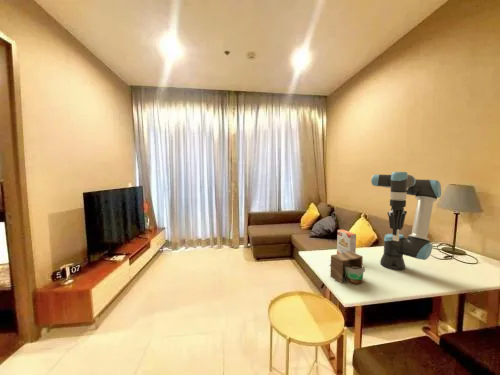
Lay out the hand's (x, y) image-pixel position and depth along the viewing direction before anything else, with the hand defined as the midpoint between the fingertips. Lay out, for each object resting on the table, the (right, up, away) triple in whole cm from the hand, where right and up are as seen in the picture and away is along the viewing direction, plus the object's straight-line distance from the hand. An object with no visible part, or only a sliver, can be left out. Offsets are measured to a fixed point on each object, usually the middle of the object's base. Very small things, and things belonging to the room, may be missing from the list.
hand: (395, 240), depth 126 cm
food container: (-19, -29, +10) cm, 36 cm away
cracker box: (-7, -26, +49) cm, 56 cm away
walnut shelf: (-21, -28, +18) cm, 39 cm away
